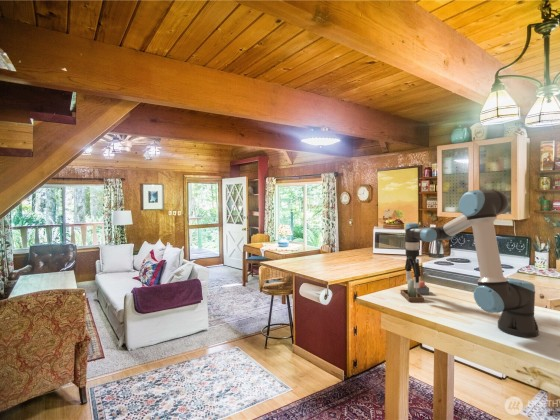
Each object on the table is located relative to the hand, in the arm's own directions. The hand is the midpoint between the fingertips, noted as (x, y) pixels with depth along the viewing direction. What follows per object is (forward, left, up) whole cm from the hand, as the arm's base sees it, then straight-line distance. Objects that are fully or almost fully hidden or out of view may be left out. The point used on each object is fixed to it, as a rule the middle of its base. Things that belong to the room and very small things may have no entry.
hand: (412, 284), depth 196 cm
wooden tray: (0, 0, -8) cm, 8 cm away
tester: (+10, -9, -8) cm, 16 cm away
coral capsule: (+10, -9, -7) cm, 15 cm away
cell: (+1, 0, -8) cm, 8 cm away
